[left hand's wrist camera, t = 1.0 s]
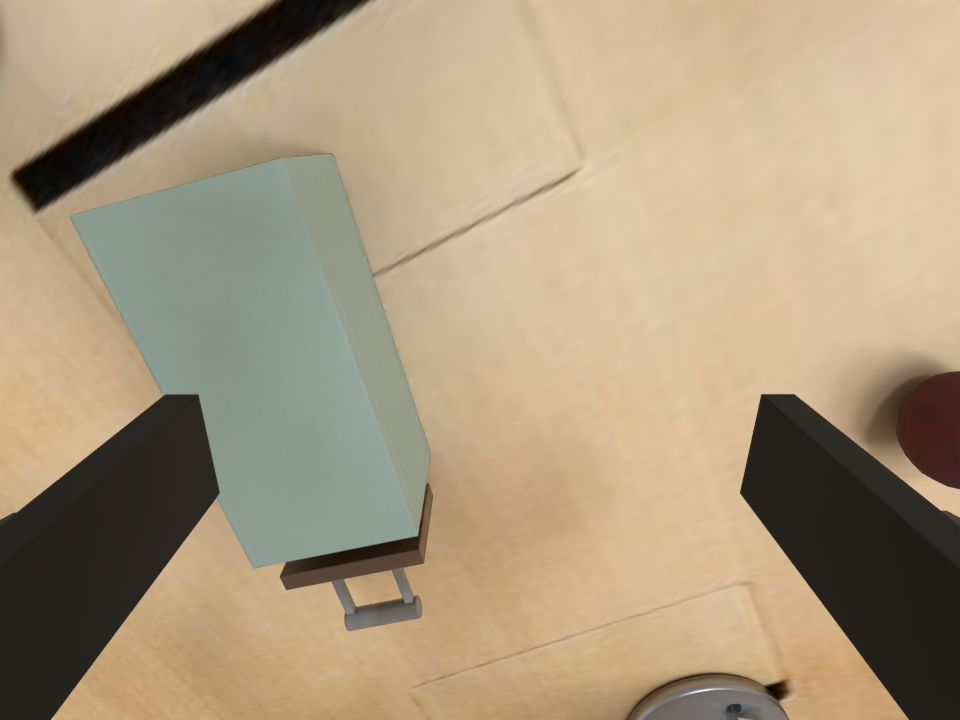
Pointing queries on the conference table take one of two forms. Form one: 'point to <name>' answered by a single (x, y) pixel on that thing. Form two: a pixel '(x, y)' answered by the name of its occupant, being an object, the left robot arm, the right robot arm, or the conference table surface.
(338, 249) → the cabinet
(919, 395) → the dark red ball
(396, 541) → the drawer
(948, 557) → the left robot arm
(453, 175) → the conference table surface
